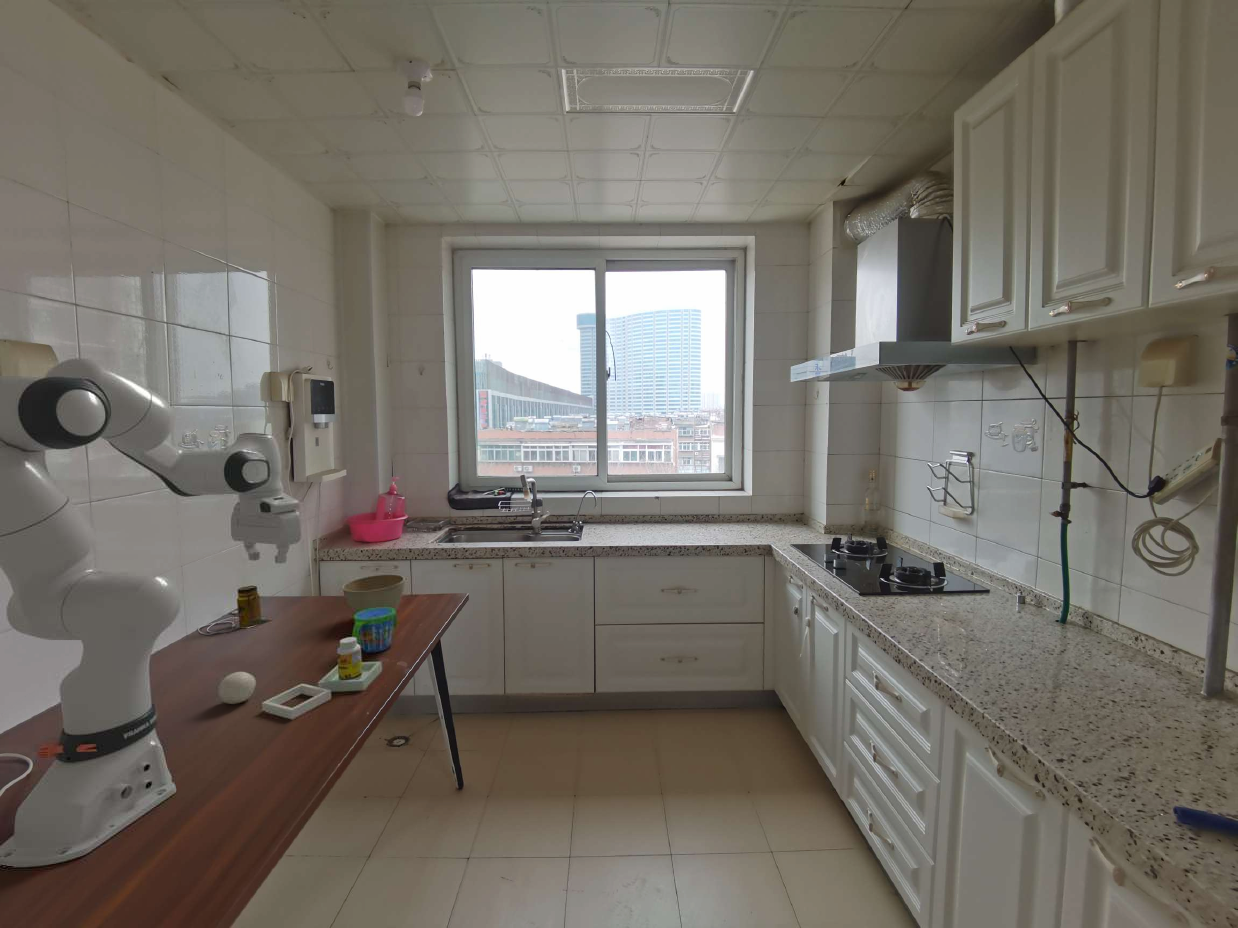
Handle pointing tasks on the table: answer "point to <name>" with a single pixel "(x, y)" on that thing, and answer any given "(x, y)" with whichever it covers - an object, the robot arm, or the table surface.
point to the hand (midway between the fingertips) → (267, 561)
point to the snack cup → (374, 628)
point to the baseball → (236, 687)
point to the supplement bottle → (349, 659)
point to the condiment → (249, 607)
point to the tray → (335, 685)
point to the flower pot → (374, 592)
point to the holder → (318, 698)
